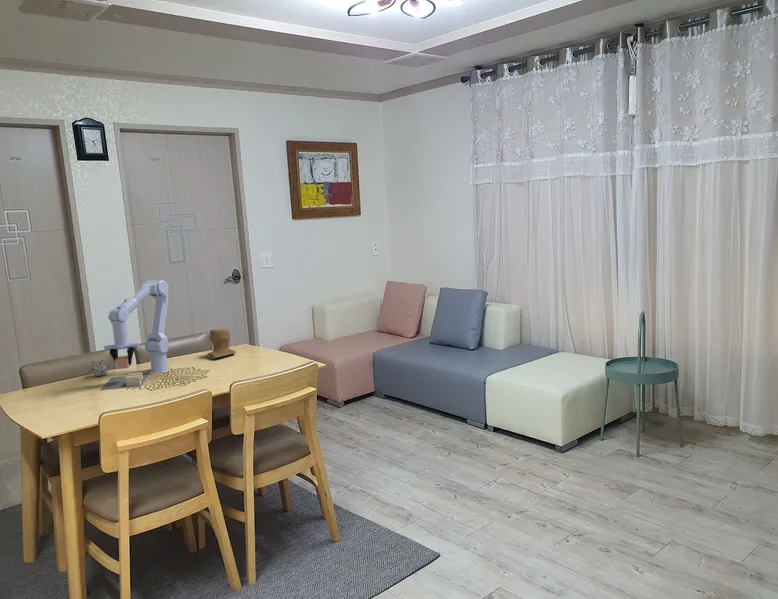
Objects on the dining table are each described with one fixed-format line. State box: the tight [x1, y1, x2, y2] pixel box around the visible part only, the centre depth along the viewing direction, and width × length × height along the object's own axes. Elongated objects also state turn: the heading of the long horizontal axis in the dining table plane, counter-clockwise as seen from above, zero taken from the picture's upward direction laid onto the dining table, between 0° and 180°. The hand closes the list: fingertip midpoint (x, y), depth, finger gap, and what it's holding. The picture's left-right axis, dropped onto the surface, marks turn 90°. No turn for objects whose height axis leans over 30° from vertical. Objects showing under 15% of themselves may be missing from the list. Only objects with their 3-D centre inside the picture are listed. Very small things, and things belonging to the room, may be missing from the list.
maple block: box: [126, 372, 144, 386], centre depth 272 cm, size 7×6×4 cm
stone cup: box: [207, 327, 237, 360], centre depth 320 cm, size 15×12×15 cm
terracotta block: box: [115, 354, 133, 370], centre depth 275 cm, size 7×5×4 cm
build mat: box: [98, 373, 151, 391], centre depth 277 cm, size 22×17×1 cm
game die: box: [88, 359, 111, 378], centre depth 290 cm, size 9×8×10 cm
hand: (123, 364), depth 275 cm, fingers closed on terracotta block, 5 cm apart
